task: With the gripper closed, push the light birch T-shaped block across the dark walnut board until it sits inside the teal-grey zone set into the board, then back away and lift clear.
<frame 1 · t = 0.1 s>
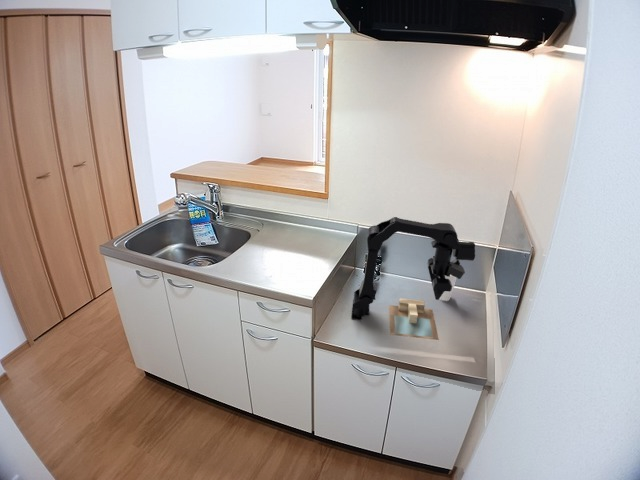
hand: (435, 292, 139), 15 cm above the counter, tool pointing down, fingers open, 9 cm apart
t block: (411, 314, 147), point 1 cm above the counter, touching push board
push board: (411, 324, 144), on the counter
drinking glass: (442, 300, 158), on the counter
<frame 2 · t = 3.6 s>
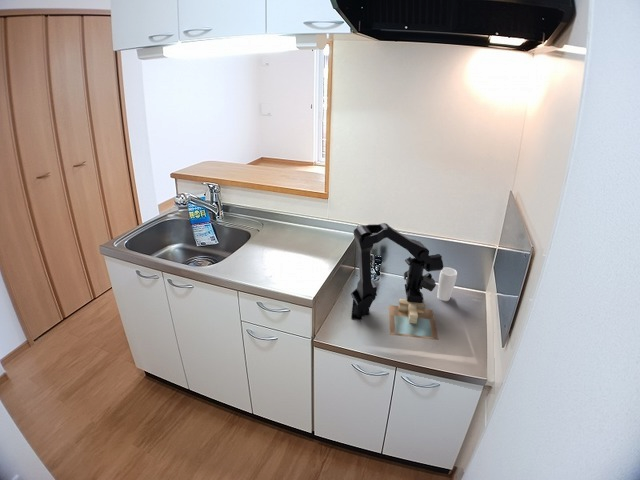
hand: (410, 302, 152), 2 cm above the counter, tool pointing down, fingers closed
t block: (411, 315, 146), point 2 cm above the counter, touching gripper
everything else where it was.
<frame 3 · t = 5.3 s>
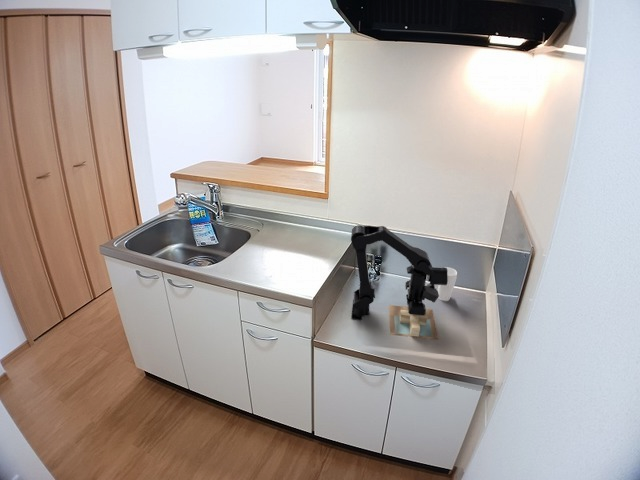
hand: (412, 314, 145), 3 cm above the counter, tool pointing down, fingers closed
t block: (413, 327, 140), point 2 cm above the counter, touching gripper
everything else where it was.
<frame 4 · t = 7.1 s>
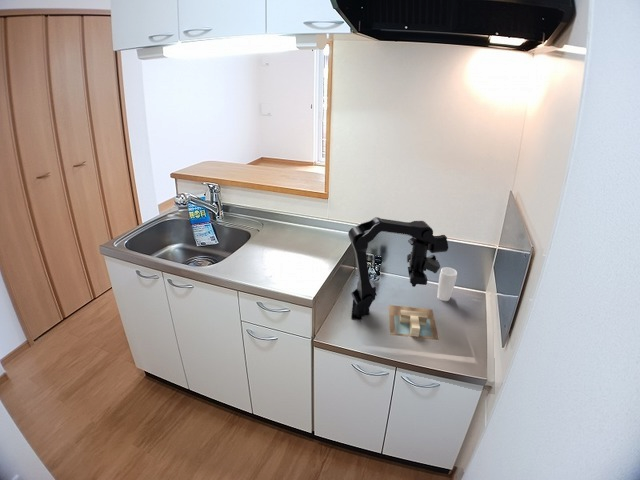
hand: (413, 286, 147), 12 cm above the counter, tool pointing down, fingers closed
t block: (413, 327, 140), point 1 cm above the counter, touching push board
everything else where it was.
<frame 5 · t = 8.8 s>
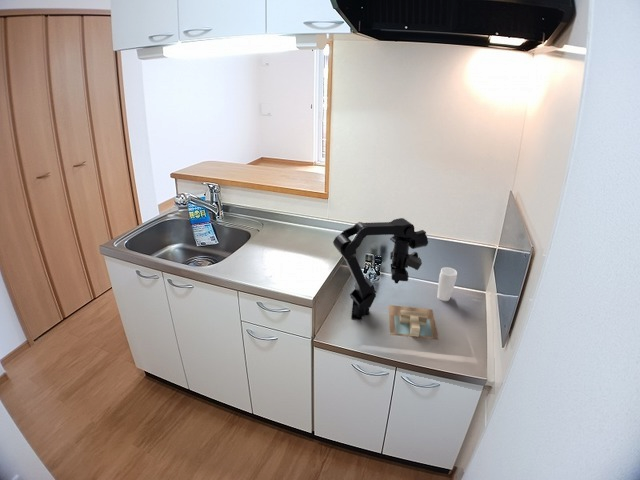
hand: (396, 282, 148), 12 cm above the counter, tool pointing down, fingers closed
nothing on the counter moved.
at the end: t block 0.4 cm from the target spot, point 1.5 cm above the counter; t block tilted 0°; the gripper is holding nothing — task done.
